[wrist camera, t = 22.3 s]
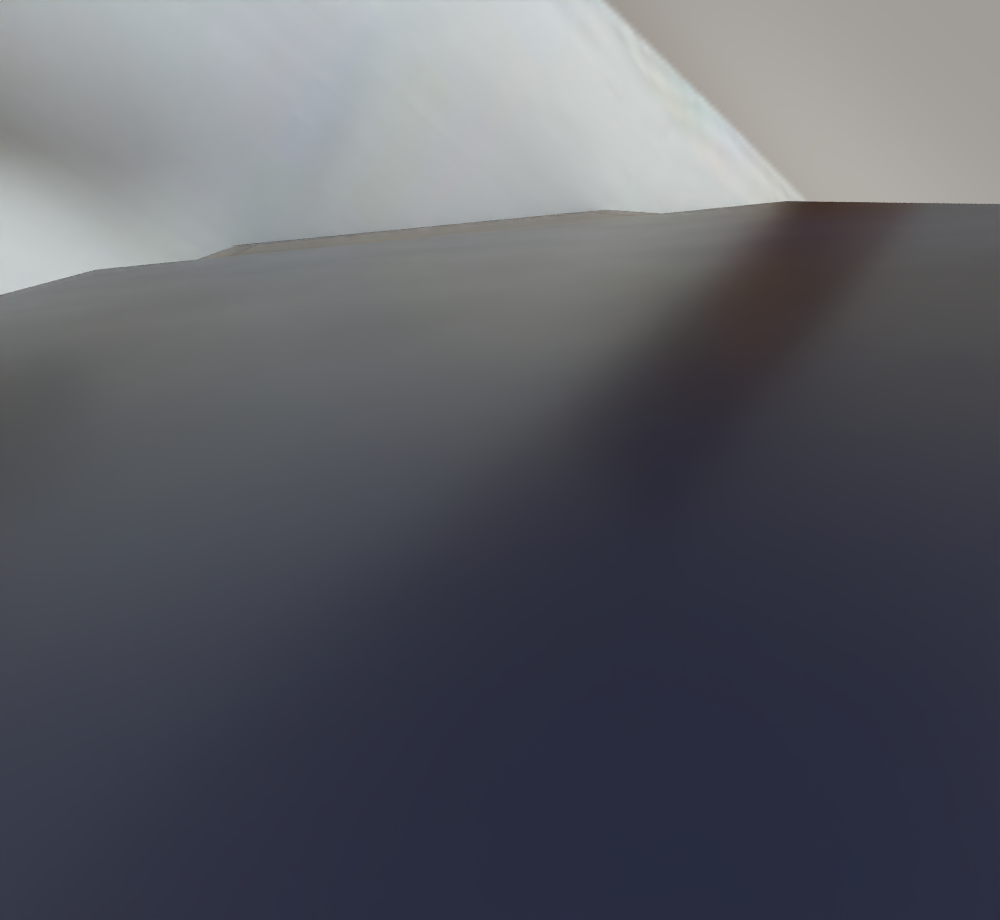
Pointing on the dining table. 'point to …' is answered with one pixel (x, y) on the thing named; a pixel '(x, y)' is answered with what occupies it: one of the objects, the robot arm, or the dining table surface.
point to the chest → (421, 232)
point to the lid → (510, 576)
